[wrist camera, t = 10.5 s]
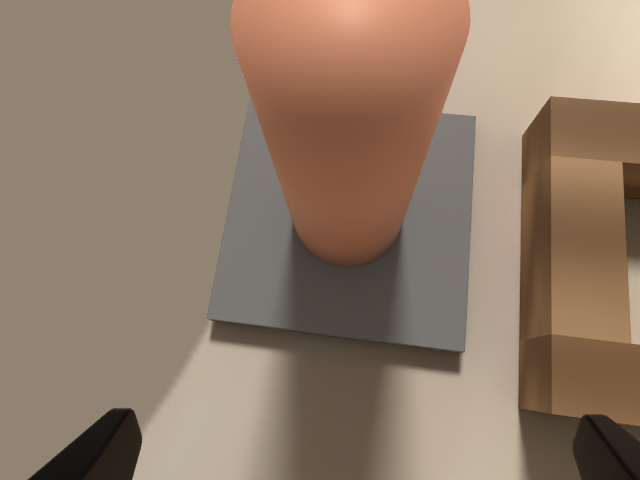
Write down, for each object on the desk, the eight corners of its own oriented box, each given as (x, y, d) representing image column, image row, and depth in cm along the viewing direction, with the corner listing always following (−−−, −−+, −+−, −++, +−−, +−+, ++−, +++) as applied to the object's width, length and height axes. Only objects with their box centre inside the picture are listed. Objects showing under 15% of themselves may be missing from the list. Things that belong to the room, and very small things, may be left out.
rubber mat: (460, 352, 18) (465, 351, 18) (211, 320, 19) (206, 318, 18) (471, 125, 21) (476, 116, 20) (253, 107, 22) (250, 97, 21)
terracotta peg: (417, 249, 19) (507, 79, 8) (308, 279, 19) (259, 147, 8) (383, 151, 20) (424, -101, 10) (281, 179, 20) (209, -46, 9)
